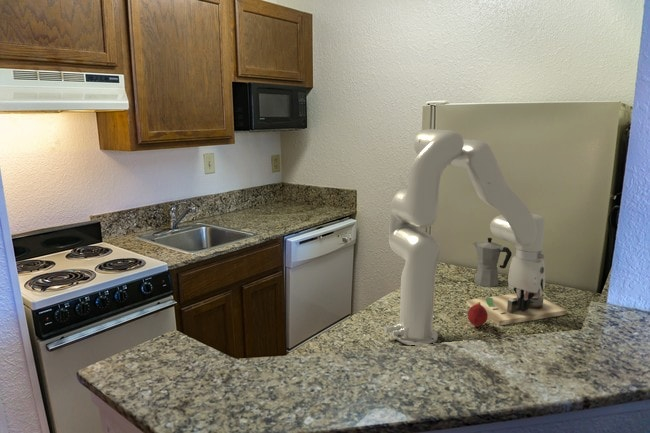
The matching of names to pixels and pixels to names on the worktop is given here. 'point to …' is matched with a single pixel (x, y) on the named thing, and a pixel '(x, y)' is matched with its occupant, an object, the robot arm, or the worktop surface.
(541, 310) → the tuner board
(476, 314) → the onion
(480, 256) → the coffeepot
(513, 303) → the dial
